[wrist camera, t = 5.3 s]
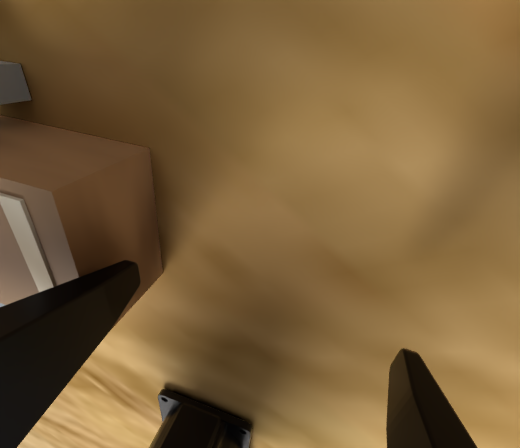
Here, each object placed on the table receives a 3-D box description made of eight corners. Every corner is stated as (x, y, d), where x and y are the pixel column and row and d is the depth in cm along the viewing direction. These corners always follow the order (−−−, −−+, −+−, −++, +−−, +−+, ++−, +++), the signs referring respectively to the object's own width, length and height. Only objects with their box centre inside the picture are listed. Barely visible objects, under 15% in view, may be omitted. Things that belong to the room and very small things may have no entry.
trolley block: (163, 272, 14) (97, 344, 10) (45, 234, 15) (-47, 287, 12) (150, 147, 10) (47, 193, 7) (1, 114, 12) (-144, 139, 8)
